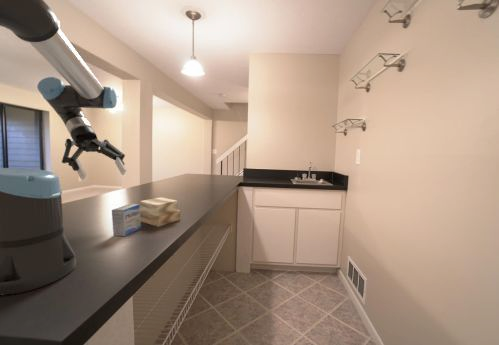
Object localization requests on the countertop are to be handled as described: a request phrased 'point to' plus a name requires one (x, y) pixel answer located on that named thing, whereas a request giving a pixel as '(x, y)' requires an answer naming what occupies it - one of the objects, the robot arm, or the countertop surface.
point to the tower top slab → (158, 206)
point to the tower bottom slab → (160, 218)
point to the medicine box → (126, 219)
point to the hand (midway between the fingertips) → (105, 174)
